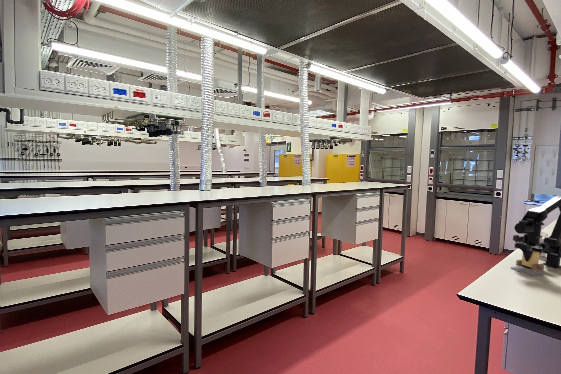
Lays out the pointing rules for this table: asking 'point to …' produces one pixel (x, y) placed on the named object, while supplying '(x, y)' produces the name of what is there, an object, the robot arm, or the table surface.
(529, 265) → the ochre block
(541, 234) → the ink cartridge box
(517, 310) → the table surface
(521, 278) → the table surface
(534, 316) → the table surface
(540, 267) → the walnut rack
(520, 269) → the slate pad
